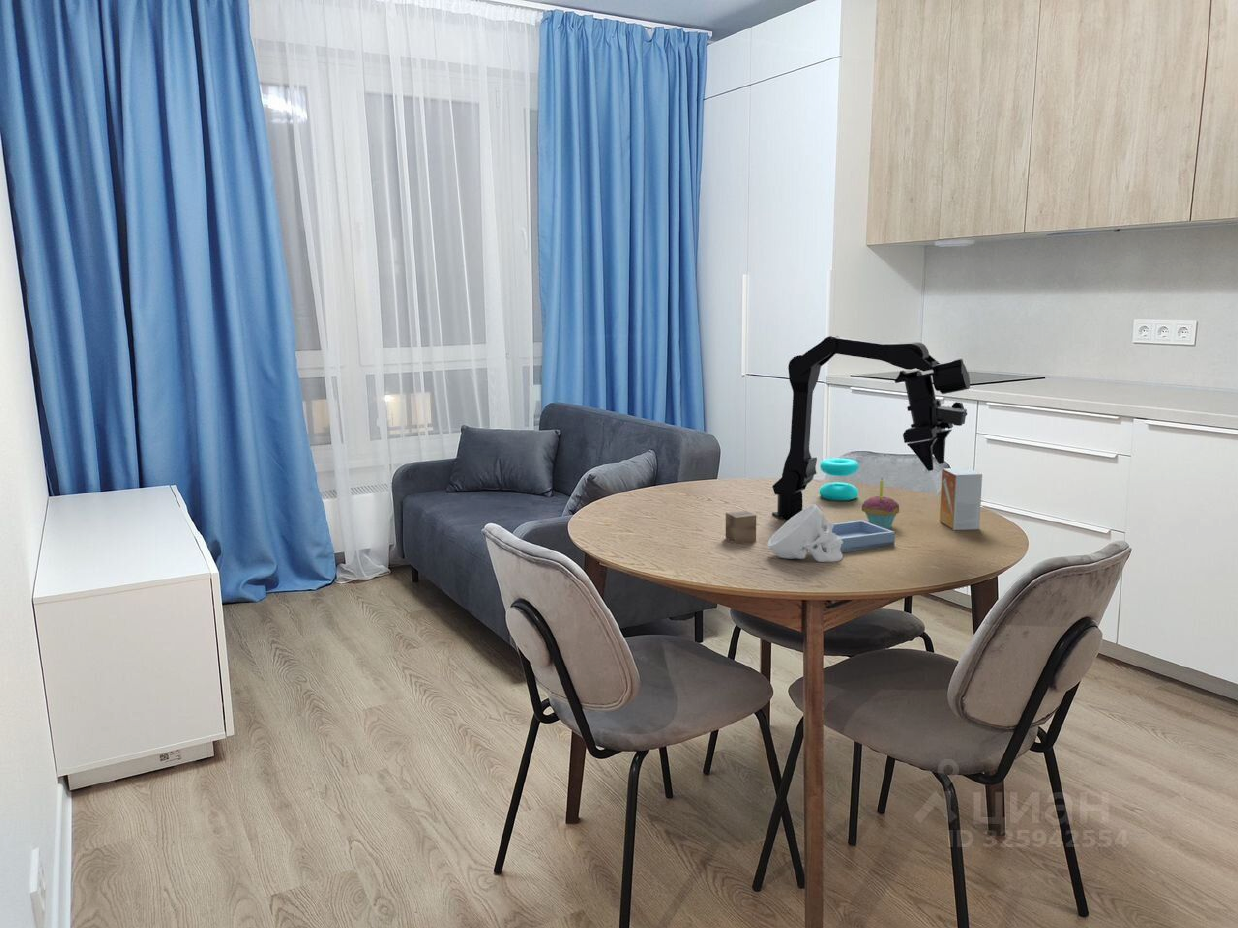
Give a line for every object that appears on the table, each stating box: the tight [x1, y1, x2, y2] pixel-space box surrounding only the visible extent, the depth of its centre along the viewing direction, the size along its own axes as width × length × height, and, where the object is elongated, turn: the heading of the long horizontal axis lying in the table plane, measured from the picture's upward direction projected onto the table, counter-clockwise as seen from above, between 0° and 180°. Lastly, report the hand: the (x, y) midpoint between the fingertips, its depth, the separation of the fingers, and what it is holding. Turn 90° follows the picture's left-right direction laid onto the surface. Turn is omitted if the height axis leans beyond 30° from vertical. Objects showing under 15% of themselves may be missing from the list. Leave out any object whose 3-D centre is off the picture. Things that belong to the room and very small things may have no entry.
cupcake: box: [861, 477, 900, 530], centre depth 211 cm, size 9×8×12 cm
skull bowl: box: [767, 503, 844, 563], centre depth 188 cm, size 10×14×12 cm
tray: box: [832, 519, 896, 554], centre depth 199 cm, size 12×14×3 cm
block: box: [725, 510, 757, 545], centre depth 203 cm, size 5×5×6 cm
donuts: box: [819, 457, 860, 502], centre depth 242 cm, size 10×10×10 cm
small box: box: [939, 467, 983, 531], centre depth 211 cm, size 8×6×13 cm
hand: (936, 466), depth 202 cm, fingers open, 9 cm apart
